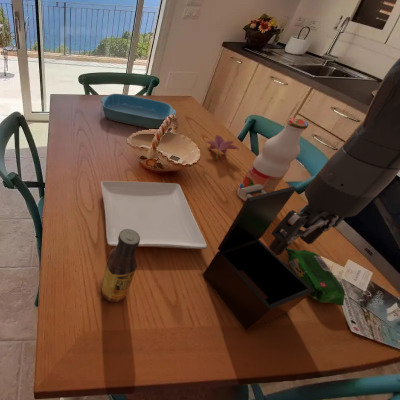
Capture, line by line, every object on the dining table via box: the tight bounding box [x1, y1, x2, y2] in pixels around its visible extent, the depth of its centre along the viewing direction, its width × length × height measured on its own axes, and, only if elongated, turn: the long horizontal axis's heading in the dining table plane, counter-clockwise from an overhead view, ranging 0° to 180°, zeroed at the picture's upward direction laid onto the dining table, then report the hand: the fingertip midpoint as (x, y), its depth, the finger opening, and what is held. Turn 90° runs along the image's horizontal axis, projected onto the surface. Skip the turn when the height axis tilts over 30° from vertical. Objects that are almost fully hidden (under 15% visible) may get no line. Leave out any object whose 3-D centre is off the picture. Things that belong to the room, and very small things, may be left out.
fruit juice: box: [236, 117, 309, 202], centre depth 84 cm, size 9×9×28 cm
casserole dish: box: [100, 93, 177, 130], centre depth 132 cm, size 37×22×7 cm, turn 71°
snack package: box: [285, 247, 346, 306], centre depth 67 cm, size 7×16×5 cm, turn 177°
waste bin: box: [202, 239, 314, 331], centre depth 62 cm, size 15×13×10 cm
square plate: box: [100, 180, 208, 250], centre depth 81 cm, size 27×27×4 cm
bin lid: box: [217, 184, 297, 251], centre depth 60 cm, size 16×13×6 cm
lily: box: [204, 134, 240, 160], centre depth 109 cm, size 12×12×10 cm
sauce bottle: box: [100, 229, 140, 303], centre depth 57 cm, size 7×6×20 cm
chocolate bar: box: [239, 270, 268, 300], centre depth 64 cm, size 8×4×2 cm, turn 21°
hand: (289, 245), depth 52 cm, fingers open, 8 cm apart
